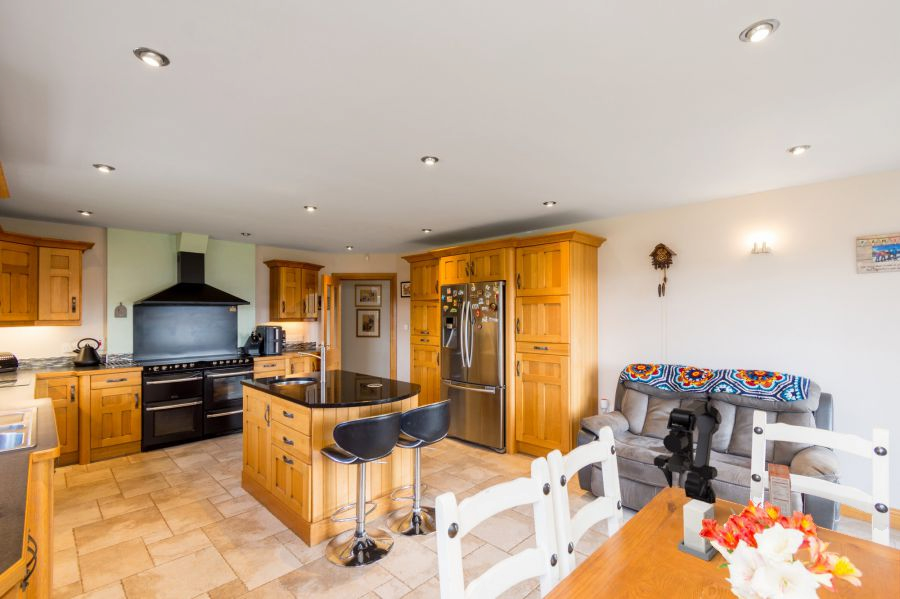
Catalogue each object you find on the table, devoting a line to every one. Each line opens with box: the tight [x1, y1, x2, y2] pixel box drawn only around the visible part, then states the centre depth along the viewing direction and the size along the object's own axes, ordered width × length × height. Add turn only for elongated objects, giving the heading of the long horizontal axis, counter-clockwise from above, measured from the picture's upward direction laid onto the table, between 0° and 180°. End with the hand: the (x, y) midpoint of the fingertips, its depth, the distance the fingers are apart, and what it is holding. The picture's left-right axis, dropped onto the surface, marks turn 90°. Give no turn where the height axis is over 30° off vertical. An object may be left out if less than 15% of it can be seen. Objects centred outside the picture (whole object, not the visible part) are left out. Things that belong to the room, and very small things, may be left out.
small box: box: [682, 498, 715, 554], centre depth 135 cm, size 8×6×13 cm
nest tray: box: [677, 538, 719, 562], centre depth 135 cm, size 11×9×2 cm
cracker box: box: [767, 462, 793, 517], centre depth 146 cm, size 14×6×21 cm, turn 144°
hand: (684, 491), depth 147 cm, fingers open, 9 cm apart
